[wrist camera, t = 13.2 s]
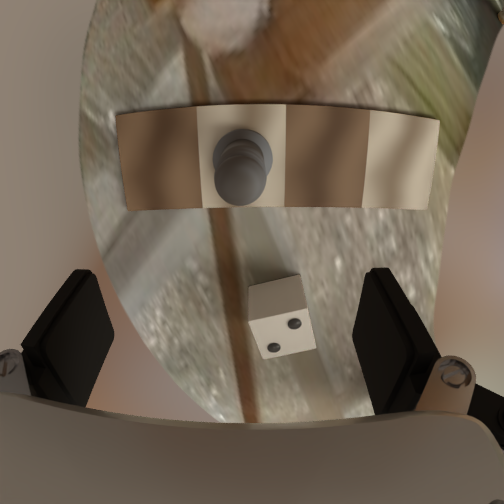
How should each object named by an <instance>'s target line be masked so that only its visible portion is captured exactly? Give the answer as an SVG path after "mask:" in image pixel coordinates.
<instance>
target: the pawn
mask: <svg viewBox="0 0 504 504" xmlns="http://www.w3.org/2000/svg"><path fill="white" fill-rule="evenodd" d="M272 163H273V155H272V151H271V148H270V145H269V143H268V142H267V140H266V139H265V138H264V137H263V136H262V135H261V134H259V133H258V132H255V131H253V130H249V129H237V130H233V131H230V132H228V133H227V134H225V135H224V136H223V137H222V138H221V139H220V140H219V142H218V143H217V145H216V147H215V149H214V152H213V166H214V169H215V173H214V183H215V188H216V191H217V193H218V195H219V196H220V197H221V198H222V199H223V200H224V201H225V202H227V203H229V204H231V205H235V206H245V205H248V204H251V203H253V202H254V201H256V200H257V199H258V198H259V197H260V196H261V194H262V193H263V191H264V188H265V185H266V180H267V175H268V174H269V172H270V170H271V167H272Z"/></svg>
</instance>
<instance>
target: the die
mask: <svg viewBox="0 0 504 504" xmlns="http://www.w3.org/2000/svg"><path fill="white" fill-rule="evenodd" d="M248 323H249V325H250V328H251V330H252V333H253V335H254V338H255V340H256V343H257V345H258V348H259V350H260V353H261V355H262V358H263V359H268V358H273V357H278V356H283V355H288V354H293V353H297V352H302V351H306V350H311V349H315V348H316V344H315V339H314V334H313V329H312V325H311V320H310V315H309V311H308V306H307V302H306V298H305V293H304V289H303V285H302V281H301V276H300V274H299V275H295V276H291V277H287V278H282V279H278V280H274V281H270V282H265V283H261V284H257V285H252V286H249V289H248Z"/></svg>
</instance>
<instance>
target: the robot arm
mask: <svg viewBox="0 0 504 504" xmlns="http://www.w3.org/2000/svg"><path fill="white" fill-rule="evenodd" d="M352 338H353V343H354V346H355V349H356V352H357V355H358V359H359V362H360V365H361V368H362V372H363V375H364V378H365V382H366V385H367V388H368V392H369V395H370V399H371V402H372V406H373V409H374V413H375V415H373V416H365V417H356V418H346V419H335V420H324V421H310V422H292V423H212V422H193V421H180V420H169V419H159V418H149V417H142V416H134V415H127V414H120V413H113V412H107V411H101V410H96V409H90V408H85V407H86V404H87V402H88V399H89V396H90V394H91V391H92V389H93V387H94V384H95V382H96V379H97V377H98V375H99V372H100V370H101V367H102V365H103V363H104V360H105V358H106V355H107V353H108V351H109V348H110V346H111V344H112V342H113V340H114V329H113V327H112V324H111V321H110V318H109V315H108V312H107V309H106V306H105V303H104V300H103V297H102V294H101V291H100V288H99V284H98V281H97V278H96V276H95V274H92V272H91V271H90V270H81V269H77V270H75V271H73V272H72V274H71V275H70V276H69V278H68V279H67V280H66V281H65V283H64V284H63V285H62V287H61V288H60V289H59V291H58V292H57V293H56V295H55V296H54V297H53V299H52V300H51V301H50V303H49V304H48V305H47V307H46V308H45V310H44V311H43V312H42V314H41V315H40V317H39V318H38V320H37V321H36V323H35V324H34V325H33V327H32V328H31V330H30V331H29V333H28V334H27V336H26V337H25V339H24V340H23V342H22V343H21V346H22V348H23V349H24V350H23V352H22V353H20V352H19V351H18V350H15V349H7V350H4V351H2V352H0V504H504V397H502V396H500V395H498V394H496V393H494V392H492V391H490V390H488V389H486V388H484V387H482V386H480V385H478V384H476V374H475V371H474V369H473V368H472V366H471V365H470V364H469V363H468V362H467V361H466V360H464V359H462V358H460V357H457V356H444V357H441V355H440V353H439V351H438V350H437V348H436V346H435V344H434V342H433V340H432V338H431V337H430V335H429V333H428V331H427V329H426V328H425V326H424V324H423V322H422V320H421V319H420V317H419V315H418V313H417V312H416V310H415V308H414V307H413V306H412V305H411V304H410V302H409V300H408V299H407V297H406V295H405V293H404V292H403V290H402V289H401V287H400V285H399V284H398V282H397V280H396V279H395V277H394V275H393V274H392V272H391V271H390V269H389V268H372V269H371V271H370V272H367V273H366V275H365V279H364V284H363V288H362V293H361V298H360V302H359V307H358V311H357V316H356V320H355V324H354V328H353V334H352Z"/></svg>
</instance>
